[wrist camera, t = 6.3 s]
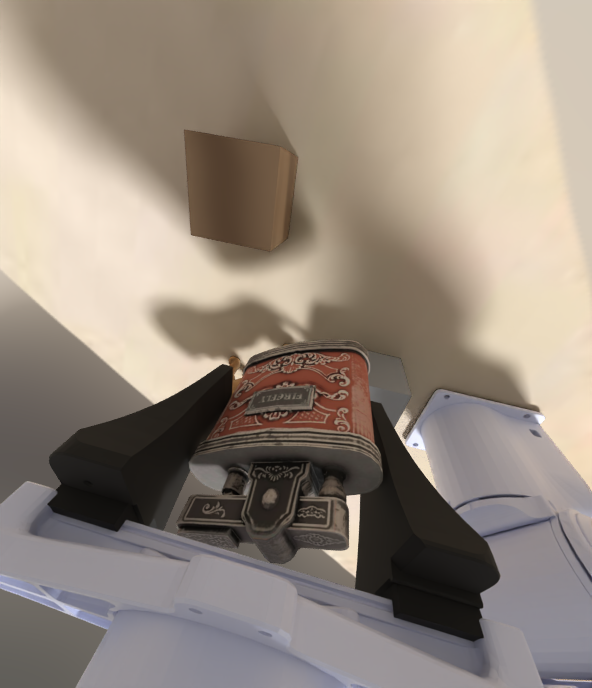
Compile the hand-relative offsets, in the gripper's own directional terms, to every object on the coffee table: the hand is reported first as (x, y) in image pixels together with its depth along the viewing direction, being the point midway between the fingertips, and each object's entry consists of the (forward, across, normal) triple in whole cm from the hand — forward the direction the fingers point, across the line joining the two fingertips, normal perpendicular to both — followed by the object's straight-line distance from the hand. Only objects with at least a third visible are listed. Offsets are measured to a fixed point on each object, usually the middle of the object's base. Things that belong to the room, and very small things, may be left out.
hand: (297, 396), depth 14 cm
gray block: (+10, -6, +4) cm, 12 cm away
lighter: (+3, 0, 0) cm, 3 cm away
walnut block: (+10, +6, -8) cm, 14 cm away
